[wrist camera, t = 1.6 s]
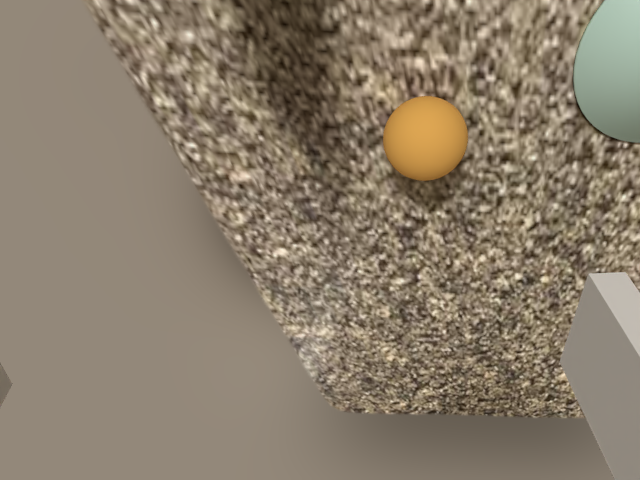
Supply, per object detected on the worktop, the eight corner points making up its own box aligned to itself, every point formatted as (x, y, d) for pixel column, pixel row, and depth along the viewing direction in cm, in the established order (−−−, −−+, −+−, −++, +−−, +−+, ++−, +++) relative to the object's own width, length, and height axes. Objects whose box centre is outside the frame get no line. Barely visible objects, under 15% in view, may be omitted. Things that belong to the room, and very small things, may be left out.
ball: (474, 105, 39) (494, 142, 34) (428, 167, 42) (441, 208, 37) (407, 68, 37) (420, 102, 33) (364, 135, 40) (371, 174, 36)
